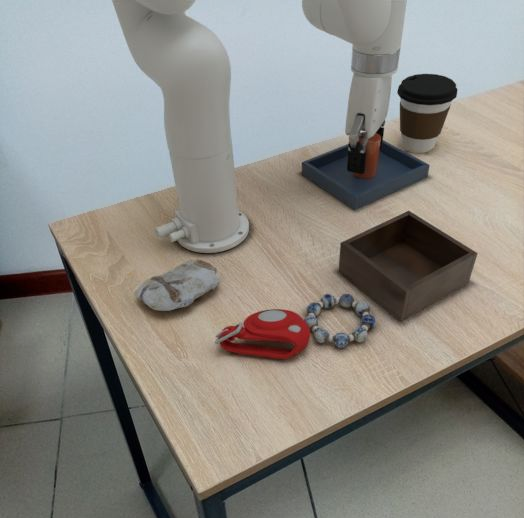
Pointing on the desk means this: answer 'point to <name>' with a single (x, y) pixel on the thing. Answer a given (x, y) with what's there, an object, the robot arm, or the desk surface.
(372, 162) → the orange cylinder
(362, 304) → the bracelet
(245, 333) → the tracker holder
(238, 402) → the desk surface
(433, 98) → the coffee cup
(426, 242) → the brown open box
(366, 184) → the tray
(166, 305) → the stone
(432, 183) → the desk surface
